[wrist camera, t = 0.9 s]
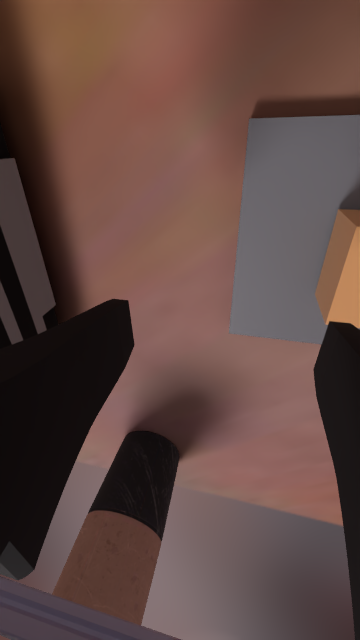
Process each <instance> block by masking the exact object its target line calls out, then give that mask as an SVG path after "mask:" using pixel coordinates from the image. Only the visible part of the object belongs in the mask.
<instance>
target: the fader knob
mask: <svg viewBox="0 0 360 640" xmlns="http://www.w3.org/2000/svg"><path fill="white" fill-rule="evenodd" d="M315 296H316V299H317V302H318V305H319V308H320V311H321V314H322V316H323V319H324V322H325V324H326V325H328V324H329V321H334V322H344V323H351V324H352V325H354V326H355V327H357V328H360V210H348V209H338V212H337V215H336V219H335V223H334V226H333V230H332V234H331V237H330V241H329V245H328V248H327V252H326V255H325V259H324V263H323V266H322V270H321V274H320V277H319V281H318V285H317V288H316V292H315Z"/></svg>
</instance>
